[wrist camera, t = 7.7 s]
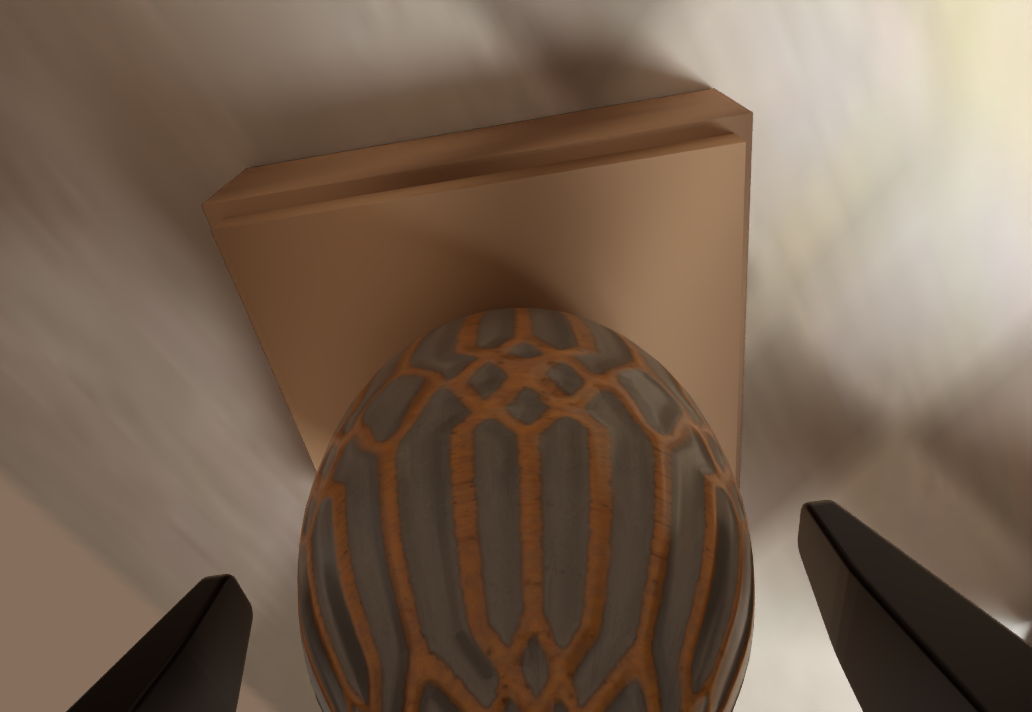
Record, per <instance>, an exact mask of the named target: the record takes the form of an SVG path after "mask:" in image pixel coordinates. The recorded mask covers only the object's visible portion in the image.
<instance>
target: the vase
mask: <svg viewBox="0 0 1032 712" xmlns="http://www.w3.org/2000/svg"><path fill="white" fill-rule="evenodd" d="M297 582H298V613H299V624H300V634H301V641H302V646H303V652H304V657H305V662H306V667H307V671H308V674H309V677H310V680H311V683H312V686H313V689H314V692H315V695H316V698H317V701H318V703H319V705H320V707H321V709H322V712H732V711H733V709H734V706H735V704H736V701H737V698H738V696H739V693H740V690H741V687H742V684H743V681H744V677H745V673H746V669H747V665H748V662H749V657H750V651H751V644H752V637H753V629H754V606H755V586H754V567H753V555H752V547H751V539H750V532H749V527H748V522H747V518H746V513H745V509H744V505H743V500H742V497H741V494H740V491H739V488H738V485H737V483H736V480H735V478H734V475H733V472H732V470H731V467H730V465H729V463H728V460H727V458H726V456H725V454H724V452H723V450H722V448H721V446H720V444H719V442H718V440H717V438H716V436H715V434H714V432H713V430H712V429H711V427H710V425H709V424H708V422H707V420H706V419H705V417H704V415H703V414H702V412H701V410H700V409H699V407H698V406H697V404H696V403H695V401H694V400H693V399H692V397H691V396H690V394H689V393H688V392H687V391H686V390H685V389H684V388H683V386H682V385H681V384H680V383H679V382H678V381H677V380H676V379H675V378H674V377H673V376H672V374H671V373H670V372H669V371H668V370H667V369H666V368H665V367H664V366H663V365H662V364H660V363H659V362H658V361H657V360H656V359H655V358H653V357H652V356H651V355H649V354H648V353H647V352H646V351H644V350H643V349H642V348H640V347H639V346H638V345H637V344H635V343H634V342H632V341H631V340H629V339H628V338H626V337H625V336H623V335H621V334H619V333H617V332H615V331H614V330H612V329H609V328H607V327H605V326H603V325H600V324H598V323H596V322H594V321H591V320H589V319H586V318H583V317H580V316H577V315H573V314H570V313H566V312H561V311H556V310H549V309H541V308H505V309H496V310H490V311H484V312H480V313H476V314H472V315H469V316H465V317H462V318H459V319H457V320H454V321H452V322H449V323H447V324H445V325H443V326H441V327H439V328H437V329H435V330H433V331H431V332H429V333H427V334H425V335H424V336H422V337H420V338H418V339H417V340H415V341H414V342H412V343H411V344H409V345H408V346H406V347H405V348H404V349H403V350H401V351H400V352H399V353H398V354H397V355H395V356H394V357H393V358H392V359H391V360H390V361H389V362H387V363H386V364H385V365H384V366H383V367H382V368H381V369H380V370H379V371H378V372H377V373H376V374H375V375H374V376H373V377H372V378H371V380H370V381H369V382H368V383H367V384H366V385H365V387H364V388H363V389H362V390H361V392H360V393H359V394H358V395H357V397H356V398H355V399H354V401H353V402H352V403H351V405H350V406H349V408H348V409H347V410H346V412H345V414H344V416H343V417H342V419H341V421H340V423H339V425H338V427H337V429H336V430H335V432H334V434H333V436H332V438H331V440H330V442H329V444H328V447H327V449H326V451H325V454H324V456H323V458H322V461H321V463H320V466H319V468H318V471H317V473H316V476H315V479H314V482H313V485H312V489H311V492H310V495H309V499H308V502H307V505H306V508H305V513H304V519H303V524H302V531H301V537H300V544H299V558H298V577H297Z"/></svg>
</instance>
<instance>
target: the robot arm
mask: <svg viewBox="0 0 1032 712" xmlns="http://www.w3.org/2000/svg"><path fill="white" fill-rule="evenodd" d="M798 548H799V552H800V556H801V559H802V561H803V564H804V567H805V570H806V573H807V576H808V578H809V581H810V584H811V587H812V590H813V593H814V595H815V598H816V601H817V604H818V607H819V610H820V612H821V615H822V618H823V621H824V624H825V627H826V629H827V632H828V635H829V638H830V640H831V643H832V646H833V648H834V651H835V653H836V656H837V658H838V660H839V662H840V664H841V667H842V669H843V671H844V673H845V675H846V677H847V679H848V681H849V683H850V685H851V688H852V690H853V692H854V694H855V696H856V698H857V700H858V702H859V704H860V706H861V708H862V710H863V712H1032V646H1031V645H1030V644H1028V643H1027V642H1026V641H1024V640H1023V639H1022V638H1020V637H1019V636H1017V635H1016V634H1015V633H1013V632H1012V631H1011V630H1009V629H1008V628H1007V627H1005V626H1004V625H1002V624H1001V623H1000V622H998V621H997V620H996V619H994V618H993V617H991V616H990V615H989V614H987V613H986V612H985V611H983V610H982V609H981V608H979V607H978V606H976V605H975V604H974V603H972V602H971V601H970V600H968V599H967V598H965V597H964V596H963V595H961V594H960V593H959V592H957V591H956V590H955V589H953V588H952V587H950V586H949V585H948V584H946V583H945V582H944V581H942V580H941V579H939V578H938V577H937V576H935V575H934V574H933V573H931V572H930V571H929V570H927V569H926V568H924V567H923V566H922V565H920V564H919V563H918V562H916V561H915V560H913V559H912V558H911V557H909V556H908V555H907V554H905V553H904V552H903V551H901V550H900V549H898V548H897V547H896V546H894V545H893V544H892V543H890V542H889V541H887V540H886V539H885V538H883V537H882V536H881V535H879V534H878V533H877V532H875V531H874V530H872V529H871V528H870V527H868V526H867V525H866V524H864V523H863V522H861V521H860V520H859V519H857V518H856V517H855V516H853V515H852V514H851V513H849V512H848V511H846V510H845V509H844V508H842V507H841V506H840V505H838V504H837V503H835V502H833V501H831V500H822V501H814V502H807V503H805V504H803V506H802V508H801V514H800V523H799V532H798ZM252 619H253V612H252V607H251V604H250V602H249V600H248V599H247V597H246V595H245V594H244V592H243V590H242V589H241V587H240V585H239V584H238V582H237V580H236V579H235V577H234V576H232V575H230V574H222V575H214V576H208V577H205V578H204V579H202V580H201V581H200V582H199V583H198V584H197V585H196V586H194V587H193V588H192V589H191V590H190V591H189V592H188V593H187V594H186V595H185V596H184V597H183V598H182V599H181V600H180V601H179V602H178V603H177V604H176V605H175V606H174V607H173V608H172V609H171V610H170V611H169V612H168V613H167V614H166V615H165V616H164V617H163V618H162V619H161V620H160V621H159V622H158V623H157V624H156V625H155V626H154V627H152V628H151V630H149V631H148V632H147V633H146V635H144V636H143V637H142V638H141V639H140V640H139V641H138V642H137V643H136V644H135V645H134V646H133V647H132V648H131V649H130V650H129V651H128V652H127V653H126V654H125V655H124V656H123V657H122V658H121V659H120V660H119V661H118V662H117V663H116V664H115V665H114V666H112V667H111V668H110V669H109V670H108V671H107V672H106V674H104V675H103V676H102V677H101V678H100V679H99V680H98V681H97V682H96V683H95V684H94V685H93V686H92V687H91V688H90V689H89V690H88V691H87V692H86V693H85V694H84V695H83V696H82V697H81V698H80V699H79V700H78V701H77V702H76V703H75V704H74V705H73V706H71V707H70V708H69V709H68V710H67V711H66V712H236V708H237V703H238V698H239V692H240V687H241V681H242V676H243V670H244V665H245V659H246V653H247V648H248V642H249V637H250V631H251V626H252Z"/></svg>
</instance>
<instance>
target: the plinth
mask: <svg viewBox="0 0 1032 712" xmlns="http://www.w3.org/2000/svg"><path fill="white" fill-rule="evenodd" d="M752 124H753V112H751V111H749V110H748V109H746V108H745V107H743V106H741V105H740V104H738V103H737V102H735V101H734V100H732V99H730V98H729V97H727V96H726V95H724V94H722V93H721V92H719V91H718V90H716V89H715V88H713V89H707V90H701V91H695V92H689V93H684V94H678V95H672V96H666V97H660V98H654V99H649V100H643V101H637V102H631V103H625V104H619V105H614V106H608V107H602V108H596V109H590V110H584V111H579V112H573V113H567V114H561V115H555V116H549V117H544V118H538V119H532V120H526V121H520V122H514V123H509V124H503V125H497V126H491V127H485V128H479V129H474V130H468V131H462V132H456V133H450V134H444V135H439V136H433V137H427V138H421V139H415V140H409V141H404V142H398V143H392V144H386V145H380V146H374V147H369V148H363V149H357V150H351V151H345V152H339V153H334V154H328V155H322V156H316V157H310V158H304V159H299V160H293V161H287V162H281V163H275V164H269V165H264V166H258V167H252V168H246V169H245V170H244V171H242V172H241V173H240V174H239V175H238V176H236V177H235V178H234V179H233V180H231V181H230V182H229V183H228V184H227V185H225V186H224V187H223V188H222V189H221V190H219V191H218V192H217V193H216V194H214V195H213V196H212V197H211V198H210V199H208V200H207V201H206V202H205V203H203V204H202V205H201V206H202V208H203V211H204V213H205V215H206V218H207V220H208V222H209V224H210V227H211V232H212V234H213V237H214V239H215V241H216V243H217V246H218V248H219V250H220V252H221V255H222V257H223V259H224V262H225V264H226V266H227V268H228V271H229V273H230V275H231V278H232V280H233V282H234V284H235V287H236V289H237V291H238V293H239V296H240V298H241V300H242V303H243V305H244V307H245V309H246V312H247V314H248V316H249V319H250V321H251V323H252V325H253V328H254V330H255V332H256V334H257V337H258V339H259V341H260V344H261V346H262V348H263V350H264V353H265V355H266V357H267V360H268V362H269V364H270V366H271V369H272V371H273V373H274V375H275V378H276V380H277V382H278V385H279V387H280V389H281V391H282V394H283V396H284V398H285V401H286V403H287V405H288V407H289V410H290V412H291V414H292V416H293V419H294V421H295V423H296V426H297V428H298V430H299V432H300V435H301V437H302V439H303V442H304V444H305V446H306V448H307V451H308V453H309V455H310V457H311V460H312V462H313V464H314V467H315V469H316V471H318V468H319V466H320V463H321V461H322V458H323V456H324V454H325V451H326V449H327V447H328V444H329V442H330V440H331V438H332V436H333V434H334V432H335V430H336V429H337V427H338V425H339V423H340V421H341V419H342V417H343V416H344V414H345V412H346V410H347V409H348V408H349V406H350V405H351V403H352V402H353V401H354V399H355V398H356V397H357V395H358V394H359V393H360V392H361V390H362V389H363V388H364V387H365V385H366V384H367V383H368V382H369V381H370V380H371V378H372V377H373V376H374V375H375V374H376V373H377V372H378V371H379V370H380V369H381V368H382V367H383V366H384V365H385V364H386V363H387V362H389V361H390V360H391V359H392V358H393V357H394V356H395V355H397V354H398V353H399V352H400V351H401V350H403V349H404V348H405V347H406V346H408V345H409V344H411V343H412V342H414V341H415V340H417V339H418V338H420V337H422V336H424V335H425V334H427V333H429V332H431V331H433V330H435V329H437V328H439V327H441V326H443V325H445V324H447V323H449V322H452V321H454V320H457V319H459V318H462V317H465V316H469V315H472V314H476V313H480V312H484V311H490V310H496V309H505V308H541V309H549V310H556V311H561V312H566V313H570V314H573V315H577V316H580V317H583V318H586V319H589V320H591V321H594V322H596V323H598V324H600V325H603V326H605V327H607V328H609V329H612V330H614V331H615V332H617V333H619V334H621V335H623V336H625V337H626V338H628V339H629V340H631V341H632V342H634V343H635V344H637V345H638V346H639V347H640V348H642V349H643V350H644V351H646V352H647V353H648V354H649V355H651V356H652V357H653V358H655V359H656V360H657V361H658V362H659V363H660V364H662V365H663V366H664V367H665V368H666V369H667V370H668V371H669V372H670V373H671V374H672V376H673V377H674V378H675V379H676V380H677V381H678V382H679V383H680V384H681V385H682V386H683V388H684V389H685V390H686V391H687V392H688V393H689V394H690V396H691V397H692V399H693V400H694V401H695V403H696V404H697V406H698V407H699V409H700V410H701V412H702V414H703V415H704V417H705V419H706V420H707V422H708V424H709V425H710V427H711V429H712V430H713V432H714V434H715V436H716V438H717V440H718V442H719V444H720V446H721V448H722V450H723V452H724V454H725V456H726V458H727V460H728V463H729V465H730V467H731V470H732V472H733V475H734V478H735V480H736V483H737V485H738V488H740V460H741V432H742V404H743V376H744V348H745V320H746V292H747V264H748V236H749V208H750V180H751V152H752Z"/></svg>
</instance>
